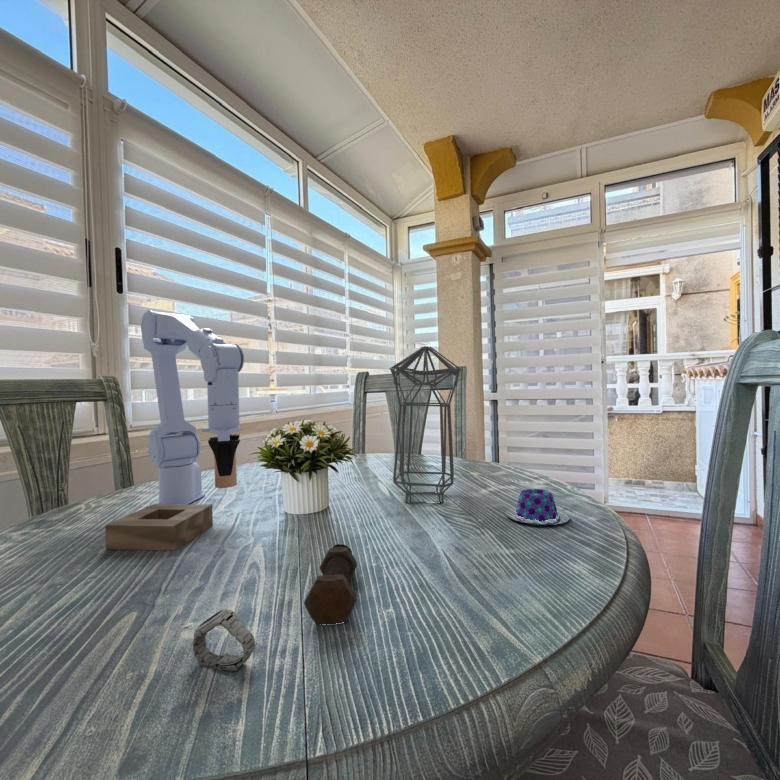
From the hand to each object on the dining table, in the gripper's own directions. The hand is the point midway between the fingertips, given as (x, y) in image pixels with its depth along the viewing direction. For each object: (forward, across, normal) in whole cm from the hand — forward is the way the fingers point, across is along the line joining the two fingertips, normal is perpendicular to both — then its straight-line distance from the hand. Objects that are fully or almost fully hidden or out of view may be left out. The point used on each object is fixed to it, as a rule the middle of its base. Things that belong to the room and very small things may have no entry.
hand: (225, 473), depth 82 cm
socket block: (+9, +5, -10) cm, 15 cm away
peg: (+2, 0, 0) cm, 2 cm away
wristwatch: (+10, +46, 0) cm, 47 cm away
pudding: (+10, +24, +56) cm, 62 cm away
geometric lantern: (+10, +3, +43) cm, 44 cm away
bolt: (+10, +36, +14) cm, 40 cm away
